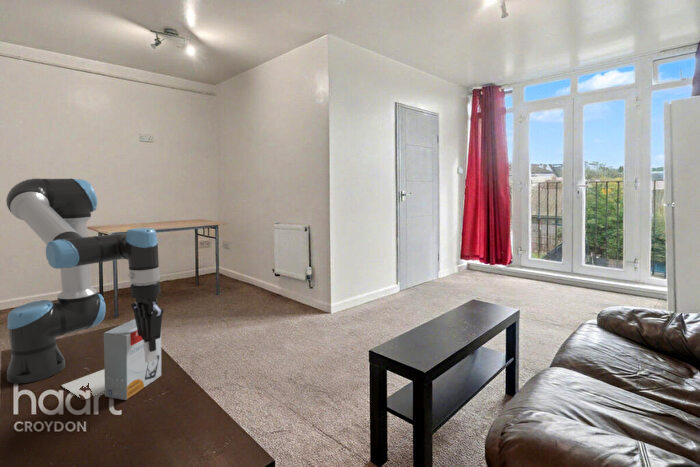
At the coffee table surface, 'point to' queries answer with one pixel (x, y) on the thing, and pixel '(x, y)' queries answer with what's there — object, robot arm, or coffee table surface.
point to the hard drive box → (128, 362)
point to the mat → (94, 381)
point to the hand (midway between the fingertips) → (151, 360)
